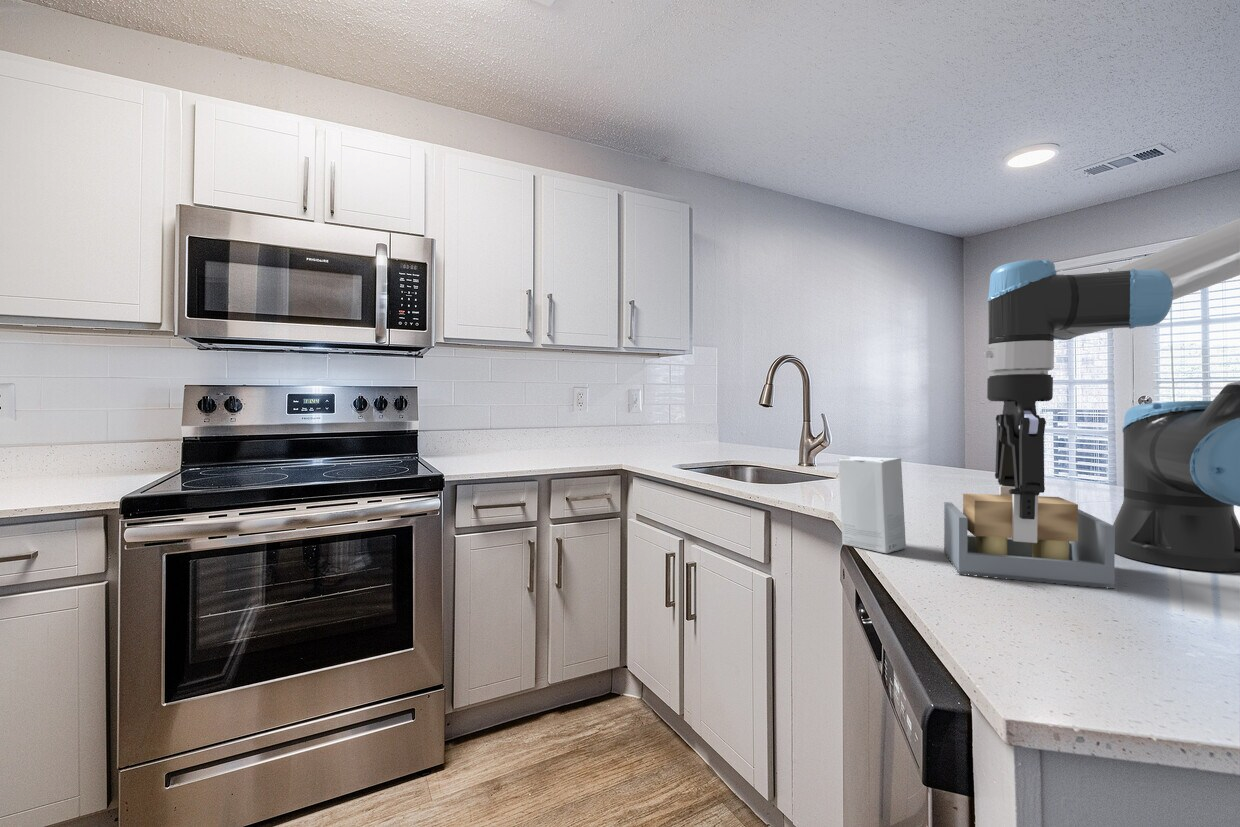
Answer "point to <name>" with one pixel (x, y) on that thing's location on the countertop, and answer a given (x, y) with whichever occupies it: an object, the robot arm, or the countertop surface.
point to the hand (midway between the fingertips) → (1016, 535)
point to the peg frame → (1034, 553)
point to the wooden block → (996, 517)
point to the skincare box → (872, 503)
